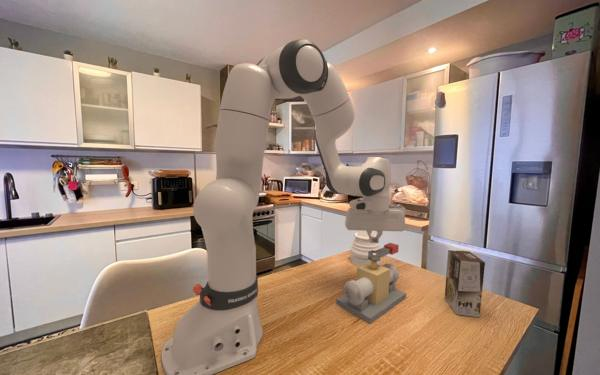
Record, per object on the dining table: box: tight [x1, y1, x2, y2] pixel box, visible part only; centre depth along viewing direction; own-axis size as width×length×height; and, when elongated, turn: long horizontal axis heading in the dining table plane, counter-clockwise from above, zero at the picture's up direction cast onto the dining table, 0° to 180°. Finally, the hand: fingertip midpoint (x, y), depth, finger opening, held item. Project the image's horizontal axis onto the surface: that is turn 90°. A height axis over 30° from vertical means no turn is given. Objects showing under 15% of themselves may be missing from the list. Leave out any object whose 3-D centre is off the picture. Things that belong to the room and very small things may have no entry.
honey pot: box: [349, 230, 382, 267], centre depth 105 cm, size 13×13×18 cm
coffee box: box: [444, 249, 486, 318], centre depth 72 cm, size 9×6×16 cm
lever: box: [368, 242, 400, 261], centre depth 78 cm, size 14×4×2 cm, turn 130°
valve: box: [335, 261, 407, 325], centre depth 75 cm, size 20×12×13 cm, turn 130°
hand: (373, 242), depth 86 cm, fingers closed
